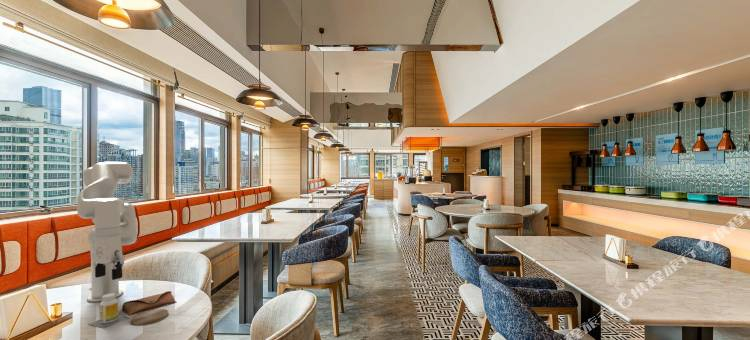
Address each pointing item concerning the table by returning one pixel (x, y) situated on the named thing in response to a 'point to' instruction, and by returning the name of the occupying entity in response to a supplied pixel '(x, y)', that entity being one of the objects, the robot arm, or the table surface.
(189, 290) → the table surface
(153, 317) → the walnut coaster
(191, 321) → the table surface
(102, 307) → the supplement bottle
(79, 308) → the table surface
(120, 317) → the gray tile
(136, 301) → the sunglasses case
